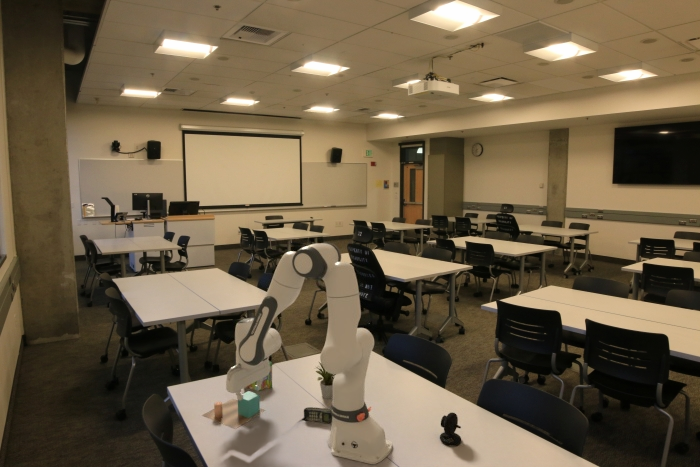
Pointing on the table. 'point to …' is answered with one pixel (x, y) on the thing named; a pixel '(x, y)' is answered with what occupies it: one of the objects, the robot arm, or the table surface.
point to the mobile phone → (318, 415)
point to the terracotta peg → (218, 410)
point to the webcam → (450, 429)
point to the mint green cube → (249, 404)
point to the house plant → (326, 383)
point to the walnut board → (230, 415)
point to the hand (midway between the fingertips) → (249, 394)
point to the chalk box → (264, 381)
